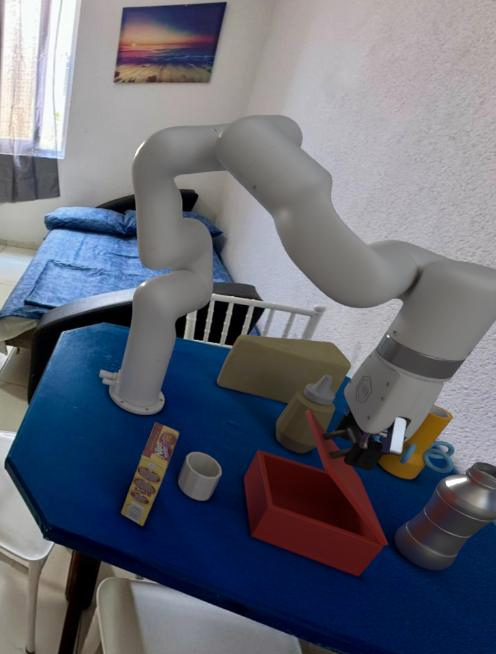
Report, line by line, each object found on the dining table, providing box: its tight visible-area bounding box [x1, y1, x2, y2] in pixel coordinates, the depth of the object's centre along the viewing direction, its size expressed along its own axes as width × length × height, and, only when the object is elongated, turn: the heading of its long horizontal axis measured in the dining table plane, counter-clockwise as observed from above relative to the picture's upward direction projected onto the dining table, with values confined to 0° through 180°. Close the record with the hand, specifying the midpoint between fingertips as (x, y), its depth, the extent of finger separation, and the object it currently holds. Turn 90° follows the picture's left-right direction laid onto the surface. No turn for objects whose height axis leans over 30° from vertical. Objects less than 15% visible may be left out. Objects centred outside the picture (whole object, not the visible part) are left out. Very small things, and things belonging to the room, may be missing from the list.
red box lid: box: [305, 410, 389, 547], centre depth 62 cm, size 15×13×5 cm
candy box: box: [120, 422, 180, 527], centre depth 69 cm, size 9×4×15 cm, turn 145°
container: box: [177, 451, 223, 501], centre depth 75 cm, size 6×6×6 cm
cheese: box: [216, 334, 352, 405], centre depth 97 cm, size 22×10×15 cm, turn 75°
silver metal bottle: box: [393, 461, 496, 571], centre depth 61 cm, size 6×7×20 cm
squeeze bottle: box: [275, 374, 336, 454], centre depth 82 cm, size 8×8×18 cm
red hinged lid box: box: [243, 449, 384, 577], centre depth 69 cm, size 15×13×8 cm
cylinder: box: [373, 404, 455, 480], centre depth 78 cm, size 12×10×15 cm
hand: (351, 450), depth 61 cm, fingers closed on red box lid, 5 cm apart
